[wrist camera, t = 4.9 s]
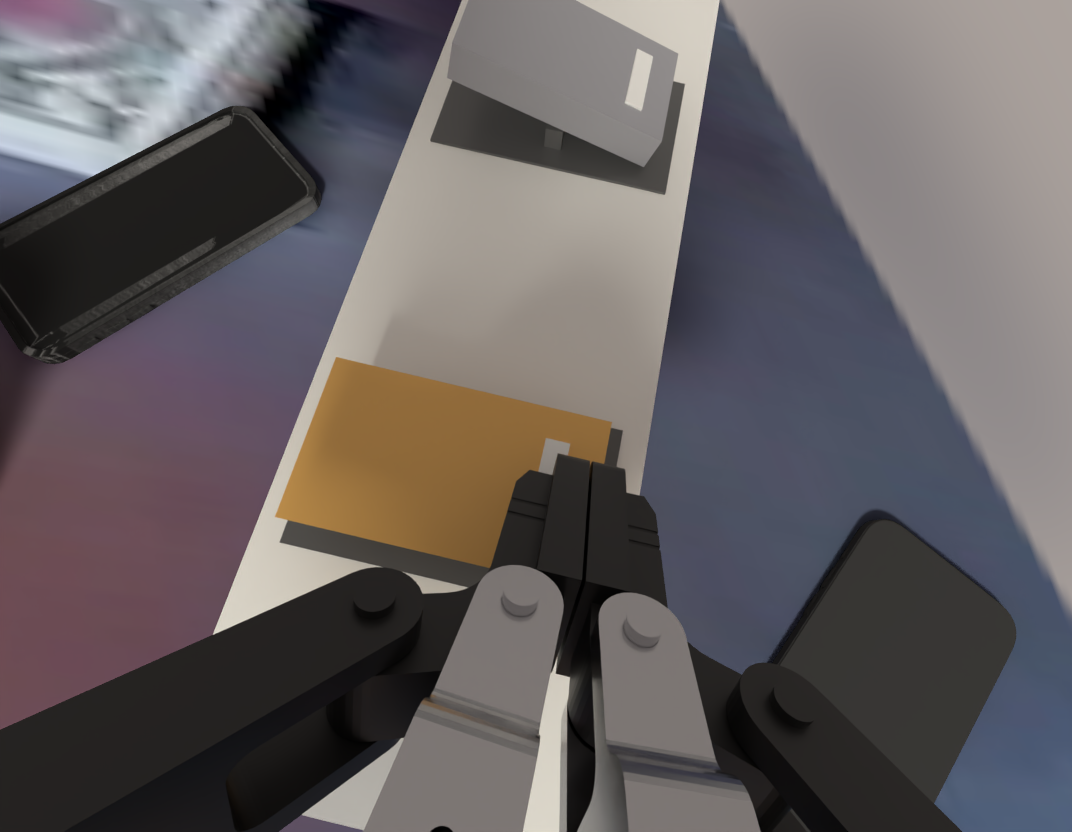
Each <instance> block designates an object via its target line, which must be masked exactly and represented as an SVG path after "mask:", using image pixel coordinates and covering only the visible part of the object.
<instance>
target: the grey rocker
mask: <svg viewBox="0 0 1072 832" xmlns="http://www.w3.org/2000/svg"><path fill="white" fill-rule="evenodd" d="M677 59H678V53H676V52H674V51H672V50H670V49H668V48H667V47H665V46H663V45H661V44H659V43H657V42H655V41H653V40H651V39H649V38H647V37H645V36H643V35H642V34H640V33H638V32H636V31H634V30H632V29H630V28H628V27H626V26H624V25H622V24H620V23H618V22H617V21H615V20H613V19H611V18H609V17H607V16H605V15H603V14H601V13H599V12H597V11H595V10H593V9H592V8H590V7H588V6H586V5H584V4H582V3H580V2H578V1H576V0H468V3H467V5H466V8H465V10H464V13H463V16H462V18H461V21H460V23H459V26H458V29H457V31H456V34H455V36H454V39H453V41H452V47H451V54H450V61H449V67H448V74H447V78H448V79H451V80H453V81H455V82H457V83H459V84H462V85H464V86H466V87H468V88H470V89H473V90H475V91H477V92H479V93H481V94H484V95H486V96H488V97H490V98H492V99H495V100H497V101H499V102H501V103H503V104H506V105H508V106H510V107H512V108H514V109H517V110H519V111H521V112H523V113H525V114H528V115H530V116H532V117H534V118H536V119H539V120H541V121H543V122H545V123H547V124H550V125H552V126H554V127H556V128H558V129H561V130H563V131H565V132H567V133H569V134H572V135H574V136H576V137H578V138H580V139H583V140H585V141H587V142H589V143H591V144H594V145H596V146H598V147H600V148H602V149H605V150H607V151H609V152H611V153H613V154H616V155H618V156H620V157H622V158H624V159H627V160H629V161H631V162H633V163H635V164H638V165H640V166H642V167H644V166H645V165H646V163H647V162H648V160H649V159H650V157H651V156H652V155H653V153H654V152H655V150H656V149H657V148H658V146H659V145H660V143H661V142H662V138H663V133H664V127H665V122H666V117H667V112H668V106H669V101H670V96H671V91H672V85H673V80H674V75H675V69H676V64H677Z"/></svg>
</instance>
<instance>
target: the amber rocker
mask: <svg viewBox="0 0 1072 832" xmlns="http://www.w3.org/2000/svg"><path fill="white" fill-rule="evenodd" d="M611 425H612V422H610V421H605V420H601V419H597V418H593V417H588V416H584V415H580V414H576V413H572V412H567V411H563V410H559V409H555V408H550V407H546V406H542V405H538V404H533V403H529V402H525V401H521V400H516V399H512V398H508V397H504V396H500V395H495V394H491V393H487V392H483V391H478V390H474V389H470V388H466V387H461V386H457V385H453V384H449V383H444V382H440V381H436V380H432V379H428V378H423V377H419V376H415V375H411V374H406V373H402V372H398V371H394V370H389V369H385V368H381V367H377V366H372V365H368V364H364V363H360V362H356V361H351V360H347V359H343V358H339V357H336V358H335V361H334V364H333V366H332V369H331V371H330V374H329V377H328V379H327V382H326V384H325V387H324V390H323V392H322V395H321V397H320V400H319V403H318V405H317V408H316V411H315V413H314V416H313V418H312V421H311V424H310V426H309V429H308V431H307V434H306V437H305V439H304V442H303V444H302V447H301V450H300V452H299V455H298V457H297V460H296V463H295V465H294V468H293V471H292V473H291V476H290V478H289V481H288V484H287V486H286V489H285V491H284V494H283V497H282V499H281V502H280V504H279V507H278V510H277V512H276V515H275V517H277V518H281V519H285V520H289V521H294V522H298V523H302V524H306V525H310V526H315V527H319V528H323V529H327V530H332V531H336V532H340V533H344V534H348V535H353V536H357V537H361V538H365V539H369V540H374V541H378V542H382V543H386V544H390V545H395V546H399V547H403V548H407V549H411V550H416V551H420V552H424V553H428V554H432V555H437V556H441V557H445V558H449V559H454V560H458V561H462V562H466V563H470V564H475V565H479V566H483V567H487V568H490V566H491V564H492V560H493V557H494V554H495V550H496V547H497V544H498V540H499V537H500V534H501V530H502V527H503V523H504V520H505V517H506V514H507V510H508V507H509V503H510V500H511V497H512V493H513V490H514V487H515V483H516V481H517V480H518V479H519V478H520V477H522V476H523V475H524V474H525V473H526V472H527V471H529V470H533V471H537V472H541V473H546V474H550V475H552V474H553V470H554V466H555V462H556V458H557V454H558V453H559V454H564V455H568V456H572V457H576V458H581V459H585V460H589V461H590V465H591V462H592V461H594V462H598V463H602V464H604V462H605V457H606V451H607V446H608V441H609V435H610V430H611Z"/></svg>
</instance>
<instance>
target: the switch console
mask: <svg viewBox="0 0 1072 832" xmlns="http://www.w3.org/2000/svg"><path fill="white" fill-rule="evenodd" d="M576 1H578V2H580V3H582V4H584V5H586V6H588V7H590V8H592V9H593V10H595V11H597V12H599V13H601V14H603V15H605V16H607V17H609V18H611V19H613V20H615V21H617V22H618V23H620V24H622V25H624V26H626V27H628V28H630V29H632V30H634V31H636V32H638V33H640V34H642V35H643V36H645V37H647V38H649V39H651V40H653V41H655V42H657V43H659V44H661V45H663V46H665V47H667V48H668V49H670V50H672V51H674V52H676V53H678V59H677V64H676V69H675V75H674V80H673V85H672V91H671V96H670V101H669V106H668V112H667V117H666V122H665V127H664V133H663V138H662V142H661V143H660V145H659V146H658V148H657V149H656V150H655V152H654V153H653V155H652V156H651V157H650V159H649V160H648V162H647V163H646V165H645V166H644V167H642V166H640V165H638V164H635V163H633V162H631V161H629V160H627V159H624V158H622V157H620V156H618V155H616V154H613V153H611V152H609V151H607V150H605V149H602V148H600V147H598V146H596V145H594V144H591V143H589V142H587V141H585V140H583V139H580V138H578V137H576V136H574V135H572V134H569V133H567V132H565V131H563V130H561V129H558V128H556V127H554V126H552V125H550V124H547V123H545V122H543V121H541V120H539V119H536V118H534V117H532V116H530V115H528V114H525V113H523V112H521V111H519V110H517V109H514V108H512V107H510V106H508V105H506V104H503V103H501V102H499V101H497V100H495V99H492V98H490V97H488V96H486V95H484V94H481V93H479V92H477V91H475V90H473V89H470V88H468V87H466V86H464V85H462V84H459V83H457V82H455V81H453V80H451V79H448V78H447V74H448V67H449V61H450V54H451V47H452V41H453V39H454V36H455V34H456V31H457V29H458V26H459V23H460V21H461V18H462V16H463V13H464V10H465V8H466V5H467V3H468V0H462V2H461V4H460V7H459V9H458V12H457V14H456V17H455V20H454V22H453V25H452V27H451V30H450V32H449V35H448V37H447V40H446V42H445V45H444V48H443V50H442V53H441V55H440V58H439V60H438V63H437V65H436V68H435V71H434V73H433V76H432V78H431V81H430V83H429V86H428V88H427V91H426V93H425V96H424V99H423V101H422V104H421V106H420V109H419V111H418V114H417V116H416V119H415V121H414V124H413V127H412V129H411V132H410V134H409V137H408V139H407V142H406V144H405V147H404V149H403V152H402V155H401V157H400V160H399V162H398V165H397V167H396V170H395V172H394V175H393V177H392V180H391V183H390V185H389V188H388V190H387V193H386V195H385V198H384V200H383V203H382V205H381V208H380V211H379V213H378V216H377V218H376V221H375V223H374V226H373V228H372V231H371V234H370V236H369V239H368V241H367V244H366V246H365V249H364V251H363V254H362V256H361V259H360V262H359V264H358V267H357V269H356V272H355V274H354V277H353V279H352V282H351V284H350V287H349V290H348V292H347V295H346V297H345V300H344V302H343V305H342V307H341V310H340V312H339V315H338V318H337V320H336V323H335V325H334V328H333V330H332V333H331V335H330V338H329V340H328V343H327V346H326V348H325V351H324V353H323V356H322V358H321V361H320V363H319V366H318V368H317V371H316V374H315V376H314V379H313V381H312V384H311V386H310V389H309V391H308V394H307V396H306V399H305V402H304V404H303V407H302V409H301V412H300V414H299V417H298V419H297V422H296V425H295V427H294V430H293V432H292V435H291V437H290V440H289V442H288V445H287V447H286V450H285V453H284V455H283V458H282V460H281V463H280V465H279V468H278V470H277V473H276V475H275V478H274V481H273V483H272V486H271V488H270V491H269V493H268V496H267V498H266V501H265V503H264V506H263V509H262V511H261V514H260V516H259V519H258V521H257V524H256V526H255V529H254V531H253V534H252V537H251V539H250V542H249V544H248V547H247V549H246V552H245V554H244V557H243V559H242V562H241V565H240V567H239V570H238V572H237V575H236V577H235V580H234V582H233V585H232V588H231V590H230V593H229V595H228V598H227V600H226V603H225V605H224V608H223V610H222V613H221V616H220V618H219V621H218V623H217V626H216V628H215V631H214V633H213V635H214V634H216V633H218V632H220V631H223V630H225V629H227V628H229V627H232V626H234V625H236V624H238V623H241V622H243V621H245V620H247V619H250V618H252V617H254V616H256V615H259V614H261V613H263V612H265V611H267V610H270V609H272V608H274V607H276V606H279V605H281V604H283V603H285V602H288V601H290V600H292V599H294V598H297V597H299V596H301V595H303V594H306V593H308V592H310V591H312V590H315V589H317V588H319V587H321V586H323V585H326V584H328V583H330V582H332V581H335V580H337V579H339V578H341V577H344V576H346V575H348V574H350V573H353V572H355V571H358V570H361V569H366V568H372V567H386V568H392V569H395V570H399V571H401V572H403V573H405V574H407V575H408V576H410V577H411V578H412V579H413V580H414V581H416V583H417V584H418V585H419V587H420V589H421V591H422V594H426V593H448V592H455V591H460V590H463V589H466V588H469V587H471V586H472V585H474V584H476V583H477V582H479V581H480V580H481V579H482V578H483V577H484V576H485V575H486V574H487V572H488V571H489V569H490V568H487V567H483V566H479V565H475V564H470V563H466V562H462V561H458V560H454V559H449V558H445V557H441V556H437V555H432V554H428V553H424V552H420V551H416V550H411V549H407V548H403V547H399V546H395V545H390V544H386V543H382V542H378V541H374V540H369V539H365V538H361V537H357V536H353V535H348V534H344V533H340V532H336V531H332V530H327V529H323V528H319V527H315V526H310V525H306V524H302V523H298V522H294V521H289V520H285V519H281V518H277V517H275V515H276V512H277V510H278V507H279V504H280V502H281V499H282V497H283V494H284V491H285V489H286V486H287V484H288V481H289V478H290V476H291V473H292V471H293V468H294V465H295V463H296V460H297V457H298V455H299V452H300V450H301V447H302V444H303V442H304V439H305V437H306V434H307V431H308V429H309V426H310V424H311V421H312V418H313V416H314V413H315V411H316V408H317V405H318V403H319V400H320V397H321V395H322V392H323V390H324V387H325V384H326V382H327V379H328V377H329V374H330V371H331V369H332V366H333V364H334V361H335V358H336V357H339V358H343V359H347V360H351V361H356V362H360V363H364V364H368V365H372V366H377V367H381V368H385V369H389V370H394V371H398V372H402V373H406V374H411V375H415V376H419V377H423V378H428V379H432V380H436V381H440V382H444V383H449V384H453V385H457V386H461V387H466V388H470V389H474V390H478V391H483V392H487V393H491V394H495V395H500V396H504V397H508V398H512V399H516V400H521V401H525V402H529V403H533V404H538V405H542V406H546V407H550V408H555V409H559V410H563V411H567V412H572V413H576V414H580V415H584V416H588V417H593V418H597V419H601V420H605V421H610V422H612V425H611V430H610V435H609V441H608V446H607V451H606V457H605V462H604V464H607V465H611V466H615V467H619V468H624V469H625V472H626V492H627V493H631V494H635V495H640V488H641V482H642V476H643V470H644V464H645V457H646V451H647V445H648V439H649V433H650V427H651V420H652V414H653V408H654V402H655V396H656V389H657V383H658V377H659V371H660V365H661V359H662V352H663V346H664V340H665V334H666V328H667V321H668V315H669V309H670V303H671V297H672V291H673V284H674V278H675V272H676V266H677V260H678V253H679V247H680V241H681V235H682V229H683V223H684V216H685V210H686V204H687V198H688V192H689V185H690V179H691V173H692V167H693V161H694V155H695V148H696V142H697V136H698V130H699V124H700V117H701V111H702V105H703V99H704V93H705V87H706V80H707V74H708V68H709V62H710V56H711V49H712V43H713V37H714V31H715V25H716V19H717V12H718V6H719V0H576ZM556 665H557V659H556V662H555V665H554V668H553V671H552V673H551V674H550V679H549V684H548V688H547V693H546V698H545V703H544V708H543V713H542V718H541V723H540V729H539V735H540V745H539V751H538V757H537V762H536V767H535V772H534V777H533V783H532V788H531V793H530V798H529V803H528V808H527V813H526V818H525V823H524V828H523V832H559V816H560V751H561V718H562V714H563V711H564V708H565V705H566V702H567V700H568V695H569V683H570V677H567V676H563V675H559V674H556ZM403 740H404V738H401V739H400V740H399V741H398V742H397V744H396V745H394V746H393V747H392V748H391V749H390V750H388V751H387V752H386V753H384V754H383V755H382V756H380V757H379V758H378V759H376V760H375V761H373V762H372V763H371V764H369V765H368V766H367V767H365V768H364V769H363V770H361V771H360V772H359V773H357V774H356V775H354V776H353V777H352V778H350V779H349V780H348V781H346V782H345V783H344V784H342V785H341V786H340V787H338V788H337V789H336V790H334V791H333V792H331V793H330V794H329V795H327V796H326V797H325V798H323V799H322V800H321V801H319V802H318V803H317V804H315V805H314V806H312V807H311V808H310V809H308V810H307V811H306V812H304V813H303V814H302V815H304V816H308V817H312V818H316V819H320V820H324V821H328V822H332V823H337V824H341V825H345V826H349V827H353V828H357V829H361V830H364V829H365V826H366V824H367V822H368V819H369V817H370V815H371V813H372V810H373V808H374V806H375V803H376V801H377V799H378V797H379V794H380V792H381V790H382V788H383V785H384V783H385V781H386V778H387V776H388V774H389V772H390V769H391V767H392V765H393V762H394V760H395V758H396V756H397V753H398V751H399V749H400V747H401V744H402V742H403Z"/></svg>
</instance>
